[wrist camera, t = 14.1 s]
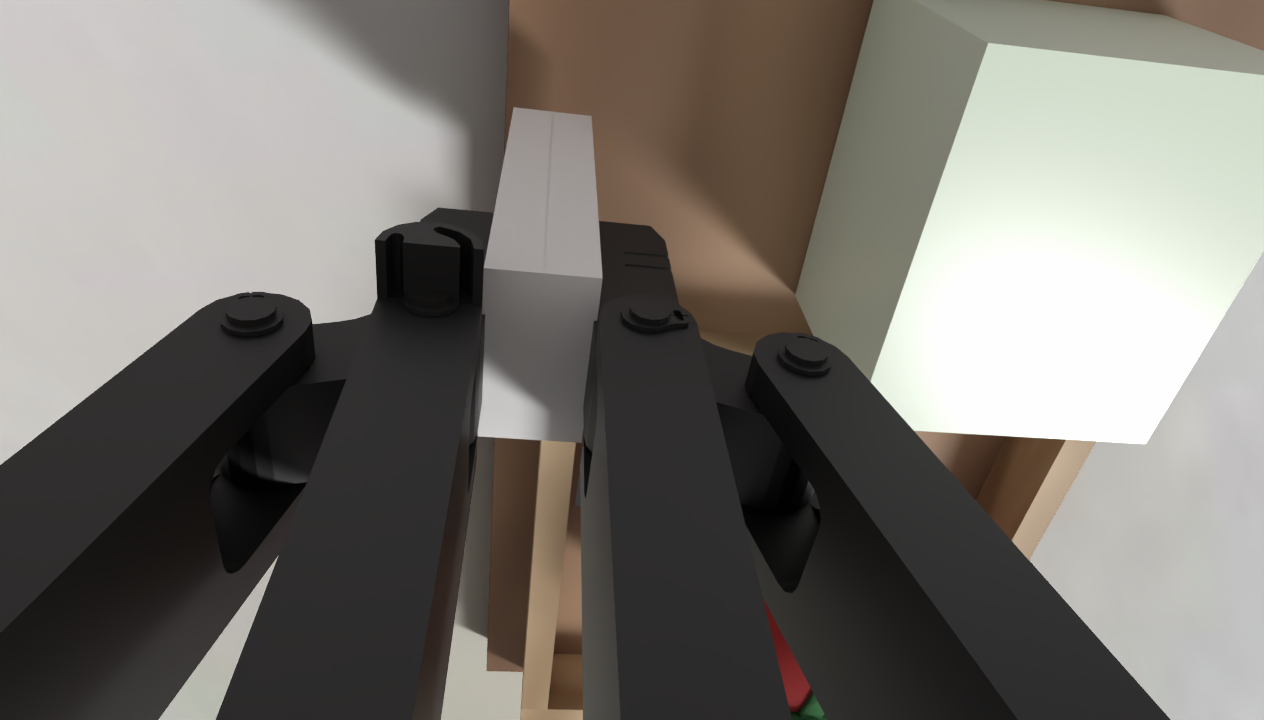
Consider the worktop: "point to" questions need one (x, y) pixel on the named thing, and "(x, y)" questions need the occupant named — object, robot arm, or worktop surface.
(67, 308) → the worktop surface
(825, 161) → the housing base
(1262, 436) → the worktop surface
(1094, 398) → the block
